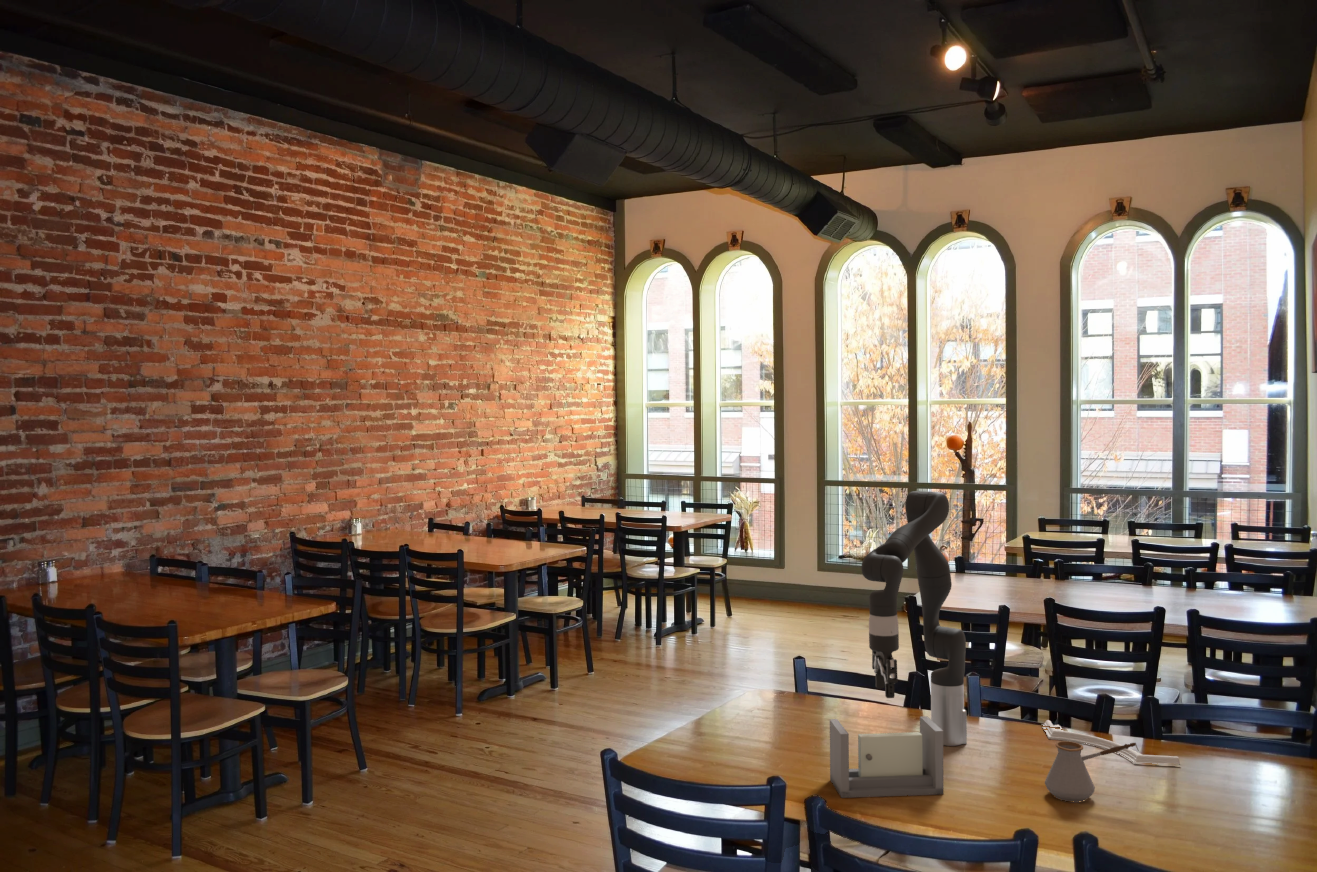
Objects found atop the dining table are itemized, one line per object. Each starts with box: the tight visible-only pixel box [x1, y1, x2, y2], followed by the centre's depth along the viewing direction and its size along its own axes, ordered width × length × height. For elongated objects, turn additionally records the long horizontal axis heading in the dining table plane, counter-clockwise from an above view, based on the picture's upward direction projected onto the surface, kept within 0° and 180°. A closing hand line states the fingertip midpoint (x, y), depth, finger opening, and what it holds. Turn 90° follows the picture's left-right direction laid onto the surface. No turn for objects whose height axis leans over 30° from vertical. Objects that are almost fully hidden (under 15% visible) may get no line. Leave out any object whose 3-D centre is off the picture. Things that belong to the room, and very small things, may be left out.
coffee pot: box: [1044, 740, 1140, 803], centre depth 240 cm, size 21×12×15 cm, turn 70°
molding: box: [1041, 719, 1181, 765], centre depth 277 cm, size 42×12×3 cm, turn 33°
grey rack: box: [829, 716, 945, 799], centre depth 250 cm, size 26×12×16 cm, turn 93°
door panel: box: [857, 731, 923, 777], centre depth 249 cm, size 16×3×12 cm, turn 94°
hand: (884, 692), depth 254 cm, fingers open, 8 cm apart
